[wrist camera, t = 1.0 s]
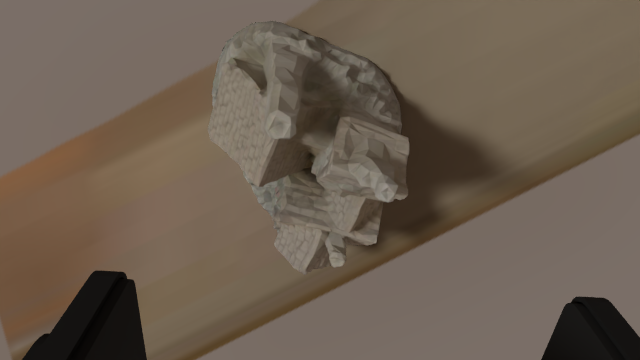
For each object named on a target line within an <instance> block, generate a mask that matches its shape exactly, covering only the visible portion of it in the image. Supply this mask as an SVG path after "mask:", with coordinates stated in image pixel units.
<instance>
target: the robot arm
mask: <svg viewBox="0 0 640 360" xmlns="http://www.w3.org/2000/svg"><path fill="white" fill-rule="evenodd" d="M22 360H147V358H146V352H145V345H144V339H143V333H142V326H141V320H140V313H139V307H138V300H137V294H136V287H135V283H134V281H133V280H132V279H127V276H126V274H125V273H124V272H114V271H94V272H93V273H92V274H91V275H90V277H89V278H88V279H87V281H86V282H85V284H84V285H83V287H82V288H81V290H80V291H79V292H78V294H77V295H76V297H75V298H74V300H73V301H72V303H71V304H70V305H69V307H68V308H67V310H66V311H65V313H64V314H63V316H62V317H61V319H60V320H59V321H58V323H57V324H56V326H55V327H54V329H53V330H52V332H51V333H50V334H44V335H42V336H41V337H39V338H38V339H37V341H36V342H35V343H34V344H33V345H32V347H31V348H30V349H29V351H28V352H27V354H26V355H25V356H24V358H23V359H22ZM541 360H640V337H639V336H638V335H637V334H636V333H635V331H634V330H633V329H632V328H631V326H630V325H629V324H628V323H627V321H626V320H625V319H624V318H623V317H622V315H621V314H620V313H619V312H618V310H617V309H616V308H615V307H614V306H613V304H612V303H611V302H609V300H607V299H605V298H594V297H575V298H574V299H573V300H572V302H571V303H568V304H566V305H565V307H564V309H563V311H562V314H561V315H560V318H559V320H558V322H557V325H556V327H555V329H554V332H553V334H552V336H551V339H550V341H549V343H548V345H547V348H546V350H545V352H544V355H543V357H542V359H541Z"/></svg>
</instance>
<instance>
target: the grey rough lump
mask: <svg viewBox="0 0 640 360" xmlns="http://www.w3.org/2000/svg"><path fill="white" fill-rule="evenodd" d="M212 95H213V110H212V114H211V118H210V122H209V126H208V132H209V136H210V139H211V141H212V142H214V143H215V144H217V145H219V146H220V148H221V149H223V150H224V151H225V152H226V153H228V155H229V156H230V157H231V158H232V159H233V160H234V161H236V162H237V163H238V164H239V165H240V169H242V170H243V174H244V177H245V179H246V180H247V181H248V182H249V183H250V184H251V185H252V189H253V192H254V194H255V195H256V196H257V199H258V203H259V204H261V205H262V206H263V208H264V209H265V210H267V211H268V212H269V214H270V215H271V216H272V221H274V227H273V228H274V229H277V232H278V236H277V238H276V241H275V244H274V245H275V247H276V248H277V250H278V251H279V252H280V253H282V255H283V256H284V257H285V258H286V259H287V260H288V261H289V262H290V263H291V265H292V266H293V268H295V269H296V270H298V271H299V272H301V273H303V274H304V275H305V274H307V273H308V272H311V271H312V269H318V268H324V267H327V266H331V265H332V266H333V267H339V266H342V265H343V264H344V263H345V261H346V244H352V245H356V246H358V245H360V244H361V245H366V246H368V245H372V244H375V243H376V242H377V238H378V234H379V226H380V219H381V216H382V209H383V204H384V202H392V201H393V200H394V199H398V200H401V199H405V198H406V197H407V196H408V188H407V185H406V166H407V160H408V155H409V141H408V139H409V138H408V137H405V136H403V135H401V128H402V123H401V111H400V104H399V102H398V99H397V97H396V95H395V93H394V91H393V89H392V87H391V85H390V83H389V82H388V80H387V79H386V77H385V76H384V75H383V73H382V72H381V71H380V70H379V69H378V68H377V67H376V66H375V65H374V64H373V63H372V62H371V61H369V60H368V59H367V58H365V57H362V56H359V55H356V54H354V53H352V52H349V51H347V50H344V49H341V48H339V47H337V46H333V45H331V44H329V43H327V42H326V41H324V40H322V39H320V38H318V37H315V36H310V35H308V34H306V33H304V32H302V31H300V30H299V29H296V28H293V27H290V26H287V25H285V24H283V23H280V22H274V21H269V22H258V23H256V22H255V23H254V24H253V23H252V24H250V25H249V26H247V27H246V28H244V29H242V30H241V31H239V32H237V33H236V34H235V35H234V36H233V38H231V39H229V40H228V41H227V43H226V45H225V46H224V48H223V50H222V54H221V56H219V61H218V64H217V70H216V75H215V78H214V82H213V90H212Z"/></svg>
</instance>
